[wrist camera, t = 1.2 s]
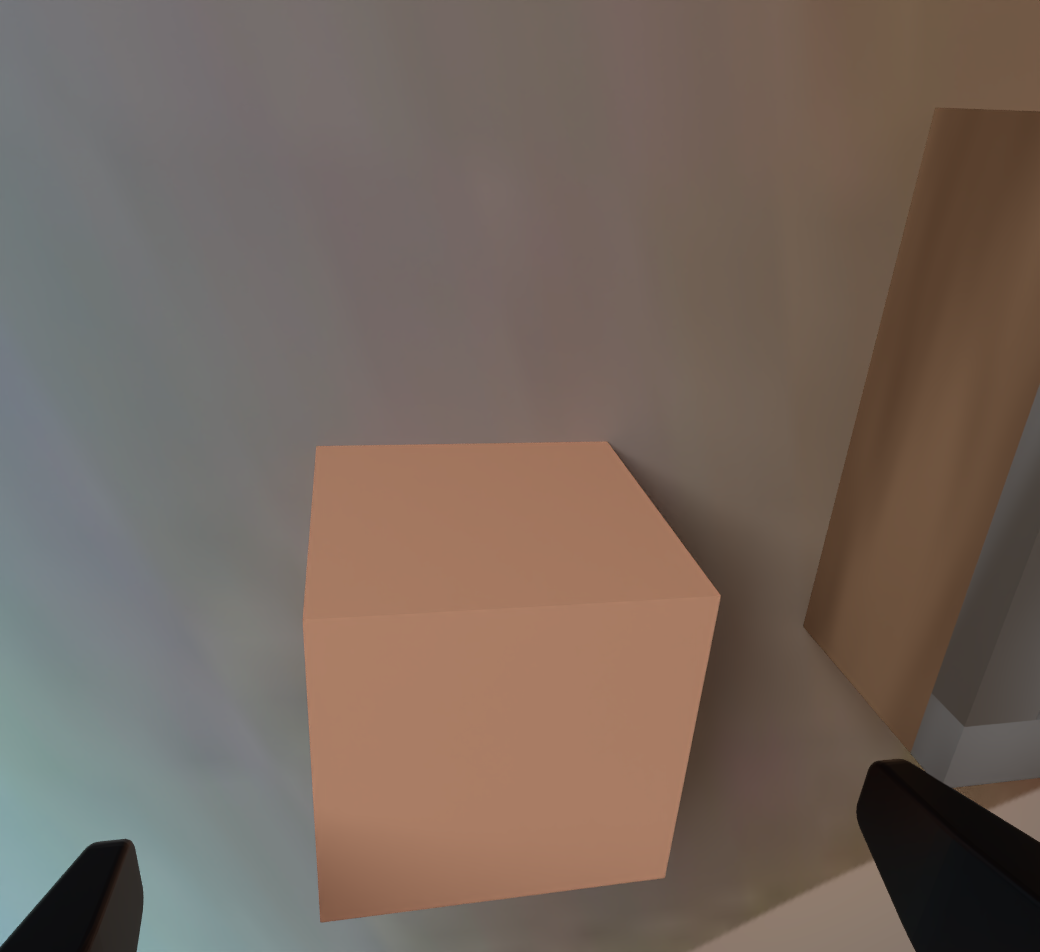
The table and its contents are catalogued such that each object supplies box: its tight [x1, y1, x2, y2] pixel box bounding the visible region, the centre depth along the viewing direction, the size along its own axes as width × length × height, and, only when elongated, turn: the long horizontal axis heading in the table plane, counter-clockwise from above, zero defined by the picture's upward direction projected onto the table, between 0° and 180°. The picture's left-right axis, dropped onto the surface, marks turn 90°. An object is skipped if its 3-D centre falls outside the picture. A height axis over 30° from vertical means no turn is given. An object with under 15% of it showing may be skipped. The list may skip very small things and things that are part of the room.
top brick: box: [303, 442, 721, 922], centre depth 13 cm, size 5×5×5 cm
